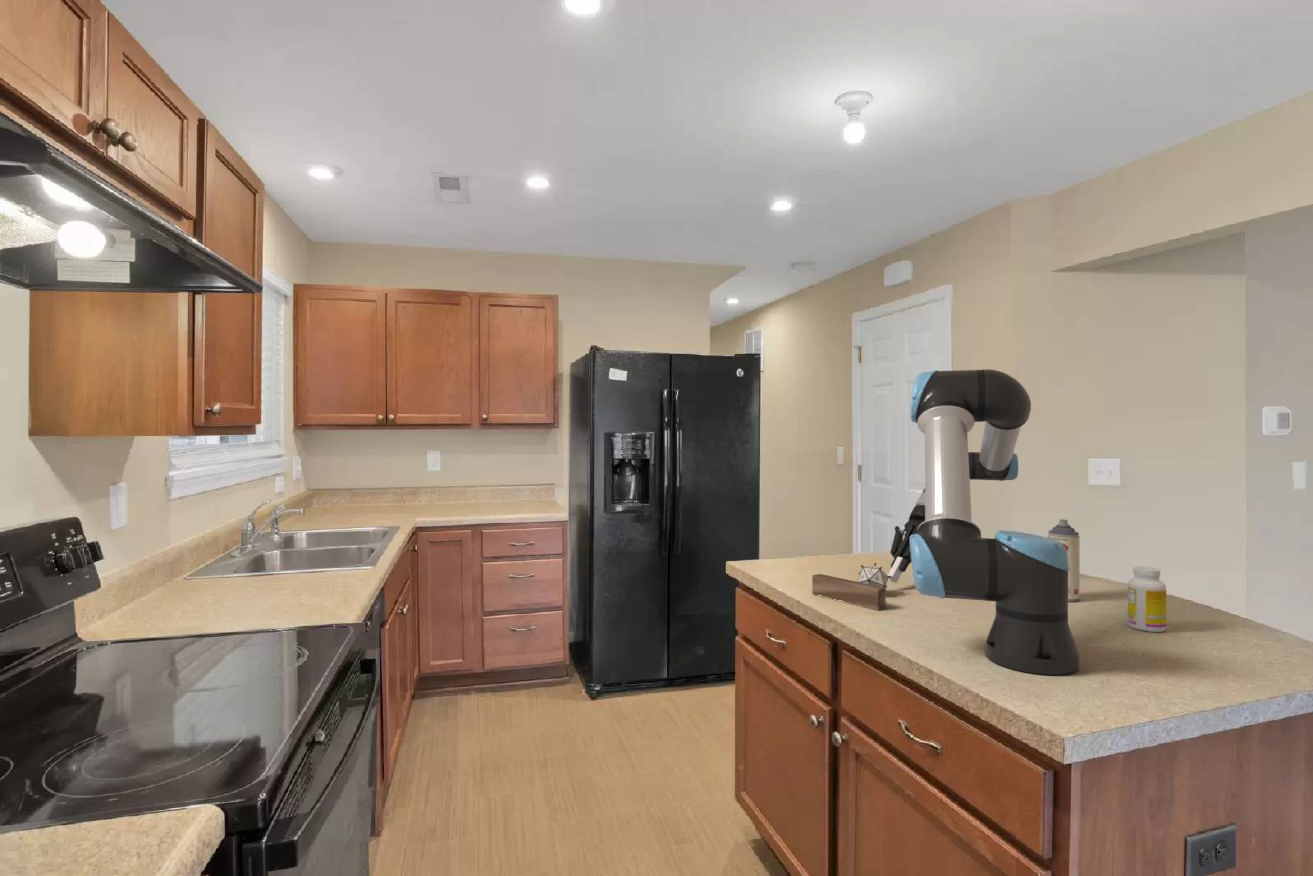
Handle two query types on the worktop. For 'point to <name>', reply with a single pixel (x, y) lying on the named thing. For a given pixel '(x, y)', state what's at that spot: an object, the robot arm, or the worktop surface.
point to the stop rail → (849, 591)
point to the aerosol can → (1069, 555)
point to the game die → (873, 576)
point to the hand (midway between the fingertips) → (892, 579)
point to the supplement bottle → (1147, 600)
